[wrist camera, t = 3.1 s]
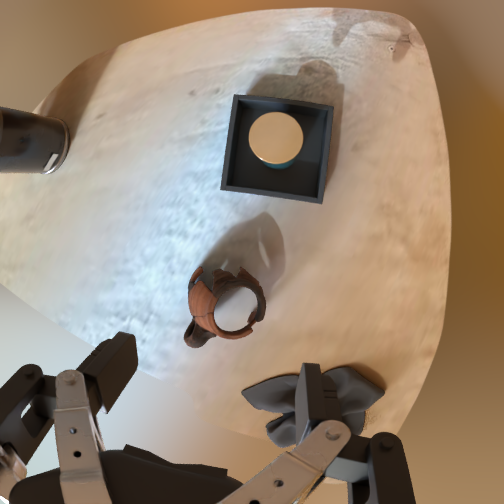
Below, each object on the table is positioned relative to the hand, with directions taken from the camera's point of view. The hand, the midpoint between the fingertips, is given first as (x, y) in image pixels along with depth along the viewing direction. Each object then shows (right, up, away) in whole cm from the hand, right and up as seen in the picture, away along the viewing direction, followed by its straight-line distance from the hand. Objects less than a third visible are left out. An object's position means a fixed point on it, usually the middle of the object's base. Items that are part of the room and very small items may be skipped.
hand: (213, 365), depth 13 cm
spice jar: (+5, +17, +21) cm, 28 cm away
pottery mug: (-2, -1, +26) cm, 26 cm away
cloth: (+11, -20, +28) cm, 36 cm away
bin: (+5, +17, +21) cm, 28 cm away
